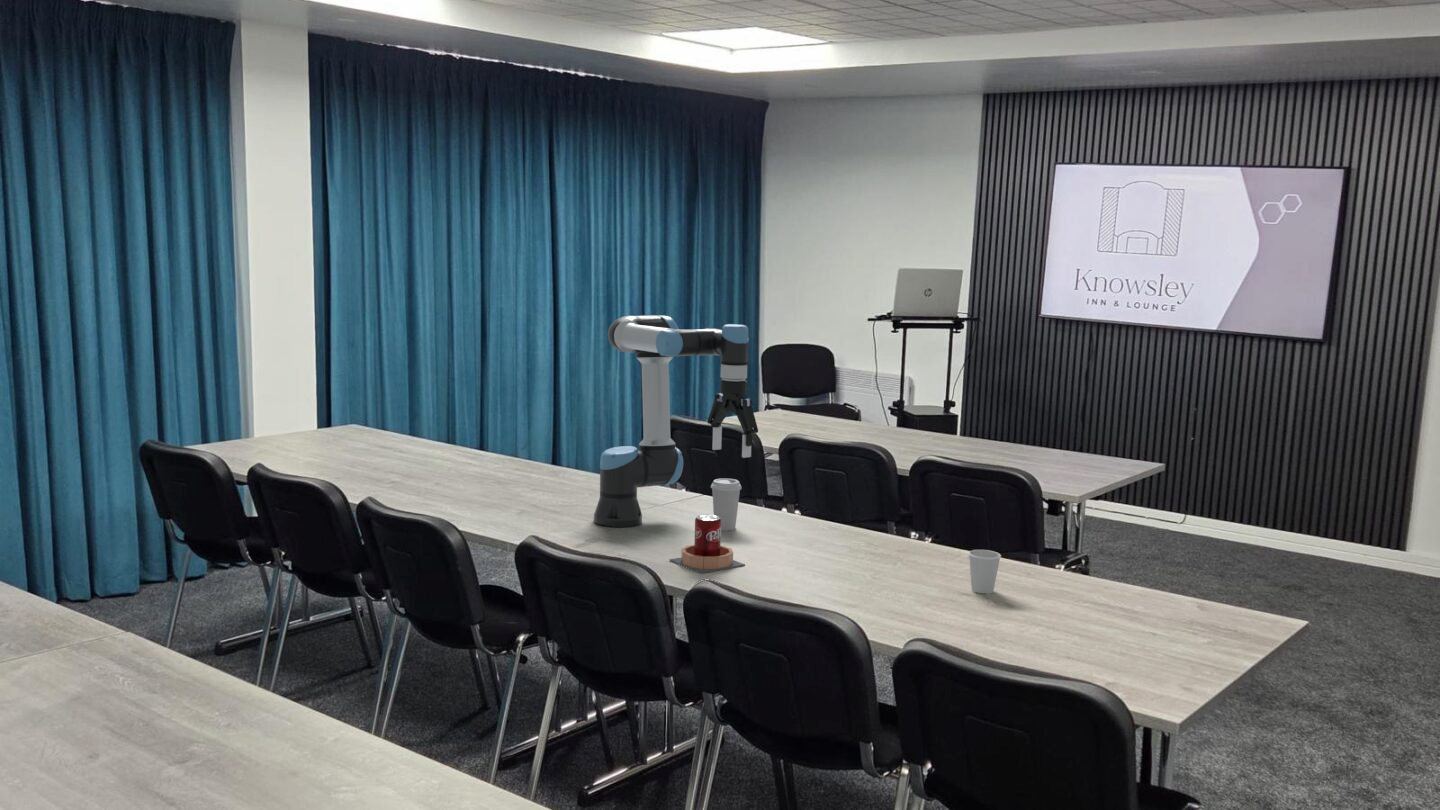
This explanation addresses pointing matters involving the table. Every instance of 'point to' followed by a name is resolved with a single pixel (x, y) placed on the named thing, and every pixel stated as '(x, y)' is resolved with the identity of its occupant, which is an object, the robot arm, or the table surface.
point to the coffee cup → (726, 501)
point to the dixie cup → (983, 570)
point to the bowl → (707, 560)
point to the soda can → (707, 535)
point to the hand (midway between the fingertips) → (731, 453)
